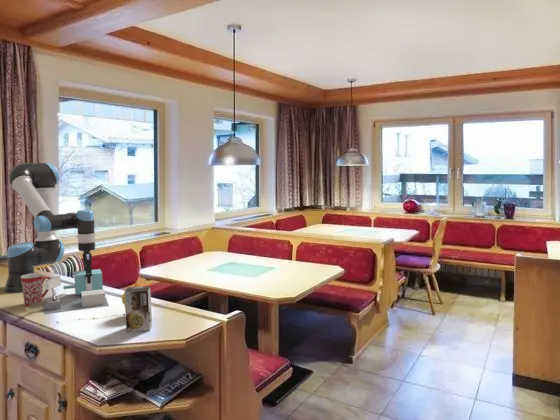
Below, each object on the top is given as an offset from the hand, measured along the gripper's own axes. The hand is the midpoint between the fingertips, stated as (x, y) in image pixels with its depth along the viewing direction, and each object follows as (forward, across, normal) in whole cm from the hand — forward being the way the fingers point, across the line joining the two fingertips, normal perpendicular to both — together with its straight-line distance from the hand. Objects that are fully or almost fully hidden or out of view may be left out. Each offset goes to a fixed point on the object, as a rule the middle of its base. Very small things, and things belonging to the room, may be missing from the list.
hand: (88, 287), depth 221 cm
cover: (+2, 0, -3) cm, 3 cm away
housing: (+5, +17, -6) cm, 19 cm away
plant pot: (+5, +40, +16) cm, 43 cm away
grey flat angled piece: (0, +16, -14) cm, 21 cm away
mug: (+5, +2, -22) cm, 23 cm away
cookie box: (+5, +56, +15) cm, 58 cm away
